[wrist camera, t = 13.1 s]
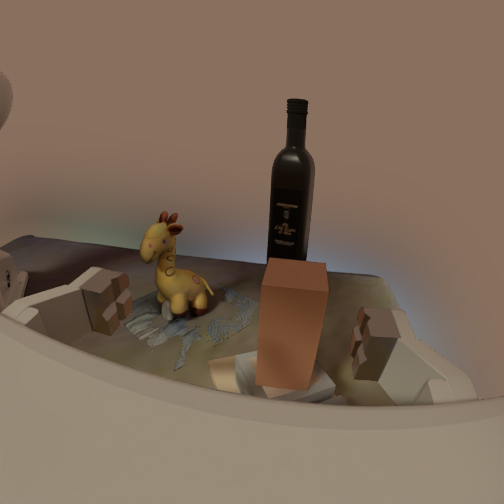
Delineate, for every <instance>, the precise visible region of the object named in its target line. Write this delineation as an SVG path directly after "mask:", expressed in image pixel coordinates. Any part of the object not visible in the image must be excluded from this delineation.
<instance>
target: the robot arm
mask: <svg viewBox="0 0 504 504" xmlns="http://www.w3.org/2000/svg"><path fill="white" fill-rule="evenodd" d="M12 101H13V93H12V88H11V84H10V82H9V80H8V78H7V77H6V76H5V75H4V74H3V73H2V72H0V129H1V128H2V127H3V125H4V124H5V122H6V120H7V118H8V116H9V114H10V111H11V107H12ZM28 278H29V276H28V273H27V272H24V271H16V268H15V265H14V262H13V259H12V257H11V255H10V254H8V253H6V252H4V251H2V250H0V504H504V396H500V397H494V398H488V399H481V400H478V397H477V395H476V393H475V390H474V388H473V386H472V383H471V381H470V379H469V377H468V376H467V375H466V374H465V373H463V372H462V371H461V370H459V369H458V368H457V367H456V366H454V365H453V364H452V363H450V362H449V361H448V360H446V359H445V358H444V357H443V356H441V355H440V354H439V353H437V352H436V351H435V350H434V349H432V348H431V347H430V346H428V345H427V344H426V343H424V342H423V341H421V340H420V339H416V337H415V334H414V332H413V330H412V327H411V325H410V323H409V321H408V318H407V316H406V313H405V311H403V310H396V309H377V308H362V307H361V309H360V311H359V313H358V316H357V320H358V325H357V326H356V327H355V328H354V329H353V333H352V336H351V343H350V352H351V356H352V357H353V358H354V361H353V364H352V368H353V376H354V379H357V380H370V381H378V383H379V384H380V385H381V387H382V388H383V389H384V390H385V392H386V393H387V394H388V395H389V397H390V398H391V399H392V400H393V402H394V403H395V404H396V405H397V406H348V405H330V404H317V403H306V402H296V401H287V400H279V399H272V398H264V397H258V396H251V395H245V394H240V393H234V392H228V391H223V390H218V389H213V388H208V387H204V386H199V385H195V384H190V383H186V382H182V381H178V380H174V379H170V378H166V377H162V376H158V375H155V374H151V373H148V372H144V371H141V370H137V369H134V368H131V367H128V366H125V365H121V364H118V363H115V362H112V361H109V360H106V359H104V358H101V357H98V356H95V355H92V354H90V353H87V352H84V351H82V350H79V349H77V348H74V347H71V346H69V345H70V344H72V343H74V342H76V341H78V340H79V339H81V338H83V337H85V336H87V335H89V334H91V333H92V332H93V331H94V332H97V333H101V334H105V335H108V336H112V335H113V334H114V332H115V331H116V330H117V329H118V328H119V326H120V321H121V320H124V319H126V318H127V317H128V315H129V314H130V311H131V309H132V295H131V293H130V292H129V291H128V289H127V288H128V286H129V285H130V283H129V278H128V276H127V274H126V273H122V272H117V271H113V270H108V269H103V268H98V267H91V268H90V269H88V270H87V271H86V272H84V273H83V274H82V275H81V276H79V277H78V278H77V279H76V280H74V281H73V282H72V283H71V284H69V285H63V286H60V287H56V288H53V289H50V290H46V291H43V292H40V293H37V294H34V295H30V296H27V297H24V293H25V289H26V285H27V281H28ZM23 297H24V298H23Z"/></svg>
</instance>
